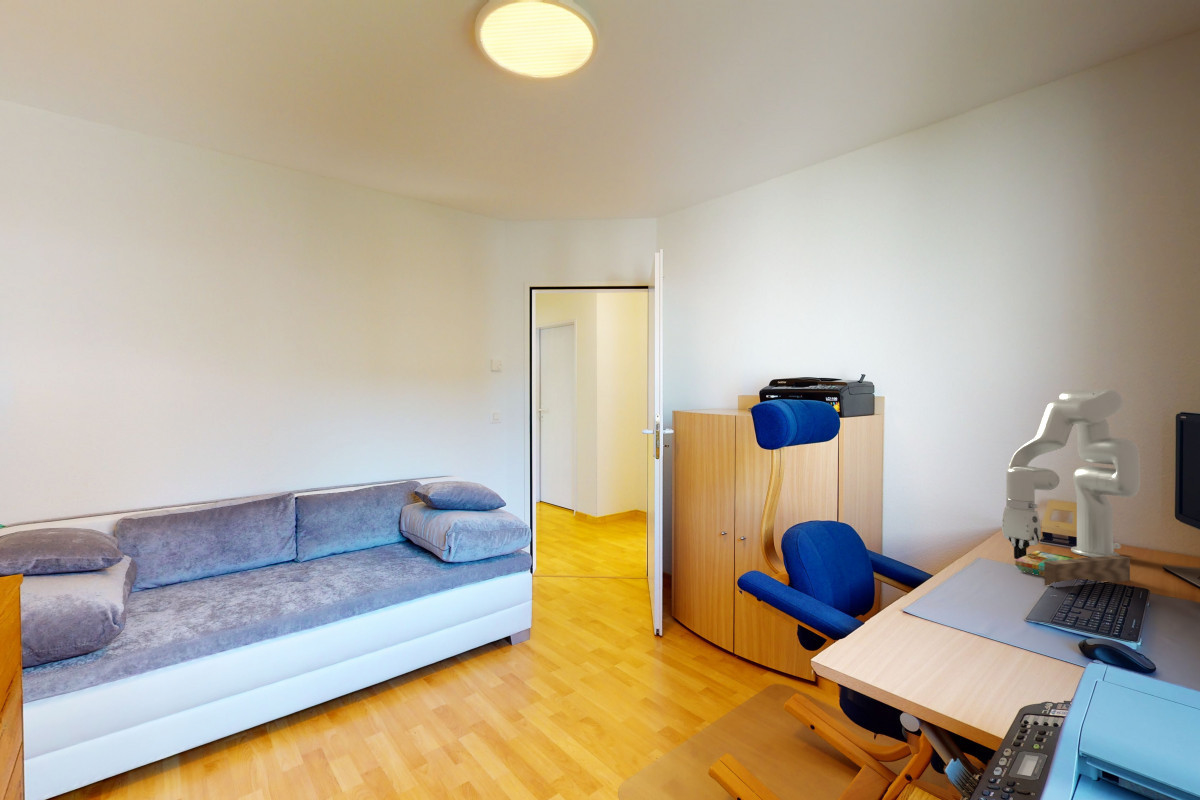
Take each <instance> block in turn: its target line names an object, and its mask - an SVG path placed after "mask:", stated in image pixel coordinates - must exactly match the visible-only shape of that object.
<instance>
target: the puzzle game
mask: <svg viewBox="0 0 1200 800" xmlns="http://www.w3.org/2000/svg"><path fill="white" fill-rule="evenodd" d="M1068 559H1080V557H1079V558H1078V557H1072V556H1069V555H1068V556H1067V555H1063V554H1056V553H1052V552H1046V551H1041V550H1035V551H1032V552H1031V553H1028V554H1026V556H1023V557H1021V558H1019V559H1015V566H1016V567H1017V568H1018V570H1019V571H1020V570H1021V571H1025V572H1029V573H1028V574H1030V573H1034V574H1033V575H1035V574H1038V575H1037V576H1039V575H1042V576H1041V577H1044V562H1046V561H1057V560H1068ZM1021 571H1020V572H1021ZM1025 572H1024V573H1025Z"/></svg>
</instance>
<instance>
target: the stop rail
mask: <svg viewBox="0 0 1200 800" xmlns="http://www.w3.org/2000/svg"><path fill="white" fill-rule="evenodd" d="M1043 578H1044V586H1046V585H1050V584H1051V583H1053V582H1055V583H1056V582H1060V581H1066V580H1074V579H1088V580H1096V581H1107V582H1112V583H1121V582H1130V581H1131V558H1130V557H1128V556H1123V555H1120V554H1119V555H1113V556H1102V557H1081V558H1080V557H1079V559H1068V560H1057V561H1046V562H1044V576H1043Z"/></svg>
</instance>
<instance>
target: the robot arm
mask: <svg viewBox="0 0 1200 800" xmlns="http://www.w3.org/2000/svg"><path fill="white" fill-rule="evenodd" d="M1122 405H1123V397H1122V395H1121V394H1120V392H1118V391H1116V390H1114V389H1109V388H1107V389H1105V388H1104V389H1071V390H1066V391H1063V392H1061V393H1060V394H1059V396H1058V400H1052V401H1050V402H1049V403H1048V404H1047V406H1046V407H1045V409H1044V412H1043V414H1042V417H1041V420H1040V423H1039V426H1038V428H1037V431H1036V434H1035V436H1034V437H1033V438H1032V439H1031V440H1029V441H1028V442H1025V444H1023V445H1022V446H1021V447H1019V449H1017V450H1016V451H1015V453H1013V455H1012V457H1011V459H1010V462H1009V464H1008V467H1007V471H1006V481H1005V482H1006V486H1005V487H1006V489H1005V490H1006V492H1005V493H1006V495H1005V497H1006V499H1005V501H1006V506H1004V508H1003V509H1004V510H1003V513H1002V520H1001V531H1002V534H1003V535H1002V536H1003V538H1004V539H1006V540H1008V541H1009V542H1010V543H1011V546H1012V547H1013V558H1014V559H1015V560H1017V559H1019V558H1021V557H1023V556H1026V555H1027V549H1028V548H1029V547H1030V546H1038V545H1039V543H1038V541H1040V540H1041V539H1042V532H1041V521H1040V516H1039V513H1038V511H1037V510H1035V509H1038V507H1039V506H1038V504H1036V503H1035V500H1036V499H1035V495H1036V493H1035V492H1036V491H1037V490H1039V491H1044V492H1045V491H1047V492H1048V491H1052V490H1054V489H1056V488H1057V487H1058V486H1059V484H1060V481H1061V480H1060V476H1059V475H1058V474H1057V472H1055V470H1052V469H1049V468H1043V467H1037V466H1036V467H1035V466H1029V464H1030V462H1032V461H1033V460H1034V459H1035V458H1037V457H1039V456H1042V455H1045V454H1046V453H1047V454H1048V453H1050V452H1054V451H1057V450H1061V449H1063V448H1064V447H1065V446H1067V443H1068V440H1069V437H1070V435H1071V432H1072V430H1073V426H1075V425H1076V439H1077V440H1076V441H1077V454H1078V458H1079V459H1080V460H1082V461H1083V462H1086V463H1093V464H1102V465H1110V466H1111V465H1113V466H1114V467H1115V468H1113V467H1112V468H1110V467H1104V466H1094V465H1093V466H1092V465H1089V466H1087V465H1085V466H1081V467H1078V468H1076V469H1075V470H1074V472H1073V474H1072V481H1073V486H1074V489H1075V494H1076V546H1072V547H1071V548H1070V550H1071V552H1072V553H1074V554H1076V555H1080V556H1084V557H1088V558H1091V557H1102V556H1113V555H1120V554H1119V553H1118V552H1115V550H1117V549H1121V547H1122V545H1121V544H1120V543H1118V542H1115V543H1114V508H1113V504H1112V502H1111V501H1110V499H1109V497H1108V496H1114V497H1118V498H1119V497H1120V498H1132V497H1135V496H1136V495H1137V494H1138V493H1139V491H1140V488H1141V464H1140V463H1141V462H1140V457H1141V455H1140V450H1139V447H1138V445H1137V444H1136V443H1135V442H1134V441H1133V440H1131V439H1129V438H1124V437H1111V435H1110V426H1109V425H1110V424H1109V421H1108V420H1107V419H1108V418H1109V417H1111V416H1113V415H1116V413H1118V412H1119V411H1120V410H1121V408H1122ZM1035 490H1036V491H1035Z"/></svg>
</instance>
